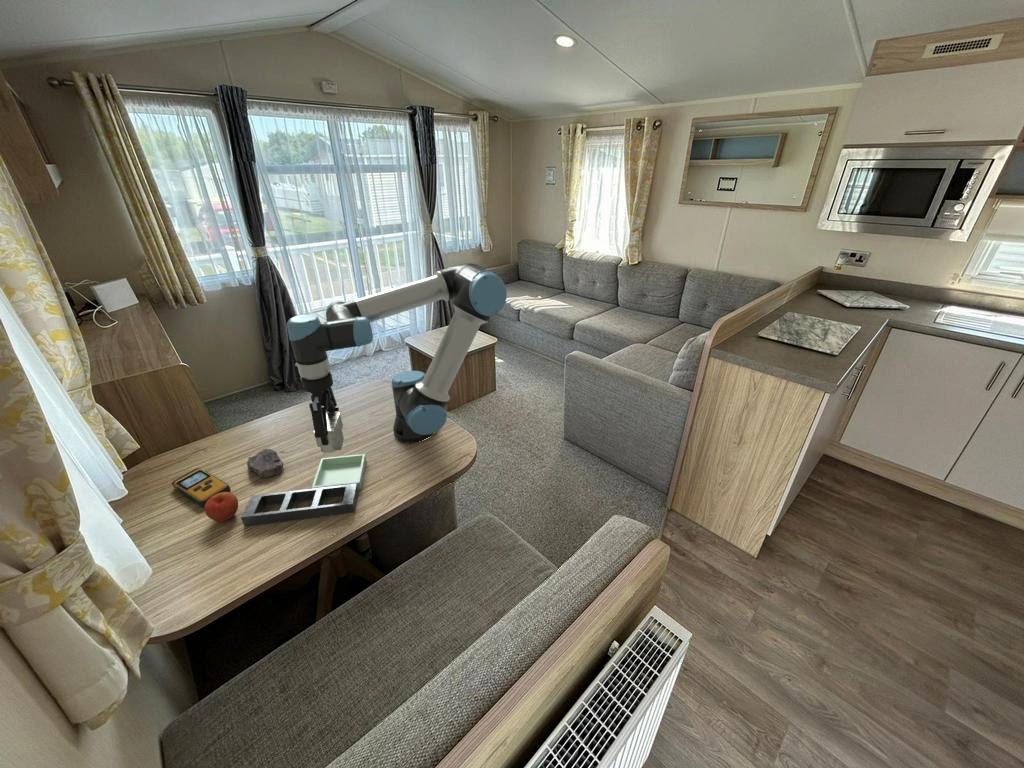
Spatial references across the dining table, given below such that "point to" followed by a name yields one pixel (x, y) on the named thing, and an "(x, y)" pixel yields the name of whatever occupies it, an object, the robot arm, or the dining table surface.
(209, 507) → the apple
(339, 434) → the white rectangular block
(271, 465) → the rock
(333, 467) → the tray
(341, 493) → the rail
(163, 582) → the dining table surface
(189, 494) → the electronic device
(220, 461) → the dining table surface
